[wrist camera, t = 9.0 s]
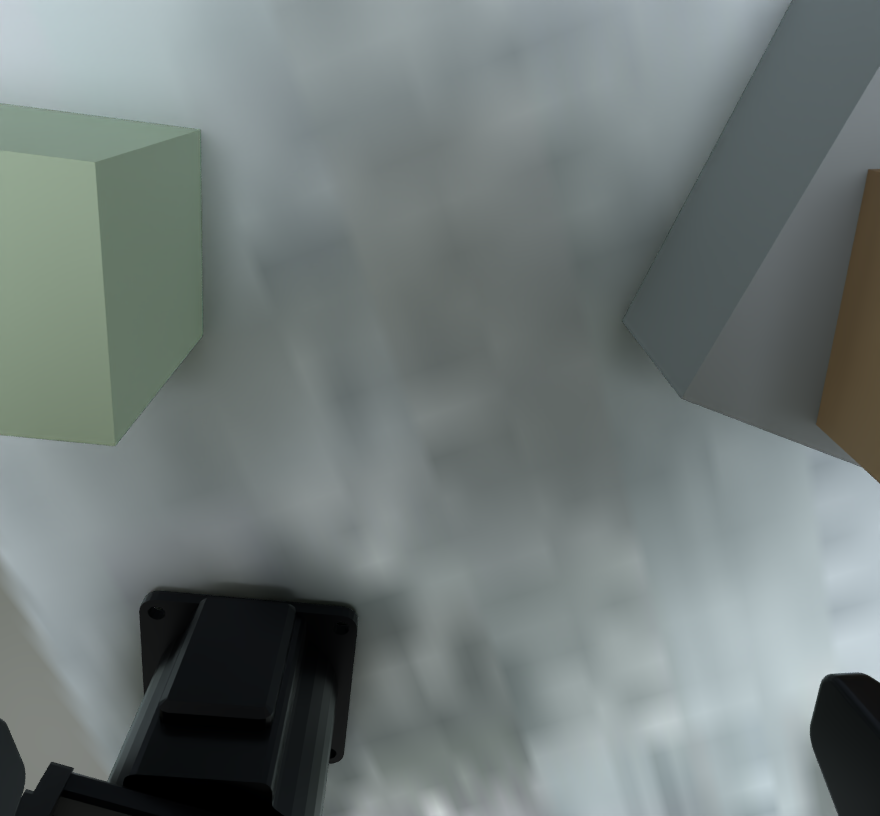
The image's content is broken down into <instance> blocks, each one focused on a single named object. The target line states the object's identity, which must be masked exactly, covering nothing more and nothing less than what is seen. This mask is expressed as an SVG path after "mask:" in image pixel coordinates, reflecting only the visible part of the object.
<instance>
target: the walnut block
mask: <svg viewBox="0 0 880 816" xmlns="http://www.w3.org/2000/svg"><path fill="white" fill-rule="evenodd" d="M816 425H817V426H818V427H819V428H820V429H821V430H822V431H823V432H825V433H826V434H827V435H828V436H829V437H830V438H831V439H832V440H833V441H834V442H835V443H836V444H838V445H839V446H840V447H841V448H842V449H843V450H844V451H845V452H846V453H847V454H848V455H849V456H851V457H852V458H853V459H854V460H855V461H856V462H857V463H858V464H859V465H860V466H861V467H863V468H864V469H865V470H866V471H867V472H868V473H869V474H870V475H871V476H872V477H873V478H874V479H876V480H877V481H878V482H879V483H880V169H868V174H867V179H866V183H865V188H864V193H863V198H862V203H861V208H860V213H859V218H858V222H857V227H856V232H855V237H854V242H853V247H852V252H851V257H850V262H849V266H848V271H847V276H846V281H845V286H844V291H843V296H842V301H841V305H840V310H839V315H838V320H837V325H836V330H835V335H834V340H833V344H832V349H831V354H830V359H829V364H828V369H827V374H826V379H825V384H824V388H823V393H822V398H821V403H820V408H819V413H818V418H817V423H816Z"/></svg>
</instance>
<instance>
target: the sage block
mask: <svg viewBox="0 0 880 816" xmlns="http://www.w3.org/2000/svg"><path fill="white" fill-rule="evenodd" d="M202 336H203V294H202V211H201V130H199V129H192V128H184V127H177V126H169V125H161V124H154V123H146V122H139V121H131V120H123V119H116V118H108V117H101V116H93V115H85V114H78V113H70V112H63V111H55V110H47V109H40V108H32V107H24V106H17V105H9V104H2V103H0V435H5V436H16V437H26V438H36V439H46V440H57V441H67V442H77V443H87V444H97V445H108V446H116V445H117V443H118V442H119V441H120V440H121V438H122V437H123V436H124V435H125V433H126V432H127V431H128V429H129V428H130V427H131V426H132V424H133V423H134V422H135V421H136V419H137V418H138V417H139V416H140V414H141V413H142V412H143V411H144V409H145V408H146V407H147V406H148V404H149V403H150V402H151V400H152V399H153V398H154V397H155V395H156V394H157V393H158V392H159V390H160V389H161V388H162V387H163V385H164V384H165V383H166V382H167V380H168V379H169V378H170V377H171V375H172V374H173V373H174V371H175V370H176V369H177V368H178V366H179V365H180V364H181V363H182V361H183V360H184V359H185V358H186V356H187V355H188V354H189V353H190V351H191V350H192V349H193V348H194V346H195V345H196V344H197V342H198V341H199V340H200V339H201V337H202Z"/></svg>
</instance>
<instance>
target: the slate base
mask: <svg viewBox="0 0 880 816" xmlns="http://www.w3.org/2000/svg"><path fill="white" fill-rule="evenodd" d="M868 169H880V0H792V2H791V4H790V6H789V7H788V9H787V11H786V13H785V15H784V17H783V19H782V21H781V22H780V24H779V26H778V28H777V30H776V32H775V34H774V36H773V38H772V39H771V41H770V43H769V45H768V47H767V49H766V51H765V53H764V55H763V56H762V58H761V60H760V62H759V64H758V66H757V68H756V70H755V71H754V73H753V75H752V77H751V79H750V81H749V83H748V85H747V87H746V88H745V90H744V92H743V94H742V96H741V98H740V100H739V102H738V103H737V105H736V107H735V109H734V111H733V113H732V115H731V117H730V119H729V120H728V122H727V124H726V126H725V128H724V130H723V132H722V134H721V135H720V137H719V139H718V141H717V143H716V145H715V147H714V149H713V151H712V152H711V154H710V156H709V158H708V160H707V162H706V164H705V166H704V167H703V169H702V171H701V173H700V175H699V177H698V179H697V181H696V183H695V184H694V186H693V188H692V190H691V192H690V194H689V196H688V198H687V200H686V201H685V203H684V205H683V207H682V209H681V211H680V213H679V215H678V216H677V218H676V220H675V222H674V224H673V226H672V228H671V230H670V232H669V233H668V235H667V237H666V239H665V241H664V243H663V245H662V247H661V248H660V250H659V252H658V254H657V256H656V258H655V260H654V262H653V264H652V265H651V267H650V269H649V271H648V273H647V275H646V277H645V279H644V280H643V282H642V284H641V286H640V288H639V290H638V292H637V294H636V296H635V297H634V299H633V301H632V303H631V305H630V307H629V309H628V311H627V313H626V314H625V316H624V318H623V320H622V322H623V323H624V325H625V326H626V327H627V328H628V330H629V331H630V332H631V334H632V335H633V336H634V338H635V339H636V340H637V341H638V343H639V344H640V345H641V347H642V348H643V349H644V351H645V352H646V353H647V355H648V356H649V357H650V358H651V360H652V361H653V362H654V364H655V365H656V366H657V368H658V369H659V370H660V371H661V373H662V374H663V375H664V377H665V378H666V379H667V381H668V382H669V383H670V384H671V386H672V387H673V388H674V390H675V391H676V392H677V394H678V395H679V396H680V398H681V399H684V400H686V401H689V402H692V403H694V404H697V405H700V406H702V407H705V408H707V409H710V410H713V411H715V412H718V413H721V414H723V415H726V416H728V417H731V418H734V419H736V420H739V421H742V422H744V423H747V424H750V425H752V426H755V427H757V428H760V429H763V430H765V431H768V432H771V433H773V434H776V435H778V436H781V437H784V438H786V439H789V440H792V441H794V442H797V443H800V444H802V445H805V446H807V447H810V448H813V449H815V450H818V451H821V452H823V453H826V454H829V455H831V456H834V457H836V458H839V459H842V460H844V461H847V462H850V463H852V464H855V465H857V466H860V465H859V464H858V463H857V462H856V461H855V460H854V459H853V458H852V457H851V456H849V455H848V454H847V453H846V452H845V451H844V450H843V449H842V448H841V447H840V446H839V445H838V444H836V443H835V442H834V441H833V440H832V439H831V438H830V437H829V436H828V435H827V434H826V433H825V432H823V431H822V430H821V429H820V428H819V427H818V426H817V425H816V423H817V418H818V413H819V408H820V403H821V398H822V393H823V388H824V384H825V379H826V374H827V369H828V364H829V359H830V354H831V349H832V344H833V340H834V335H835V330H836V325H837V320H838V315H839V310H840V305H841V301H842V296H843V291H844V286H845V281H846V276H847V271H848V266H849V262H850V257H851V252H852V247H853V242H854V237H855V232H856V227H857V222H858V218H859V213H860V208H861V203H862V198H863V193H864V188H865V183H866V179H867V174H868ZM860 467H861V466H860Z"/></svg>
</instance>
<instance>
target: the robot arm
mask: <svg viewBox="0 0 880 816" xmlns="http://www.w3.org/2000/svg"><path fill="white" fill-rule="evenodd" d="M154 606H157V607H161V608H162V609H163V610H162V611H161V610H157V609H156V608H154ZM139 614H140V631H141V649H142V666H143V683H144V698H143V700H142V702H141V705H140V707H139V709H138V712H137V714H136V716H135V719H134V721H133V723H132V725H131V728H130V730H129V732H128V735H127V737H126V739H125V742H124V744H123V746H122V749H121V751H120V753H119V755H118V758H117V760H116V762H115V765H114V767H113V769H112V772H111V774H110V776H109V778H108V781H107V782H106V781H102V780H99V779H95V778H91V777H88V776H84V775H81V774H77V773H74V772H73V769H74V768H72V767H68V766H65V765H61V764H58V763H54V762H51V763H50V765H49V766H48V768H47V770H46V772H45V773H44V775H43V777H42V778H41V780H40V782H39V784H38V785H37V787H36V789H35V790H34V791H31V790H27V789H26V791H25V792H24V794H23V796H22V793H23V789H24V785H25V768H24V764H23V762H22V759H21V757H20V754H19V752H18V750H17V748H16V745H15V743H14V740H13V738H12V735H11V733H10V731H9V728H8V726H7V724H6V723H5V722H4V721H3V720H2V719H0V816H322V811H323V804H324V796H325V788H326V780H327V773H328V765H329V764H331V763H336V762H339V761H340V760H341V759H342V758H343V755H344V748H345V738H346V729H347V720H348V711H349V701H350V692H351V683H352V674H353V664H354V655H355V646H356V637H357V627H358V616H357V614H356V613H355V612H354V611H353V610H351V609H350V608H347V607H341V606H329V605H318V604H306V603H294V602H283V601H271V600H259V599H248V598H236V597H224V596H213V595H201V594H189V593H178V592H166V591H154V592H151V593H149V594H148V595H147V596H146V597H145V599H144V601H143V603H142V605H141V606H140V611H139ZM337 622H344V623H346V624H347V625H343V626H341V625H337V624H336V623H337ZM810 738H811V743H812V747H813V750H814V753H815V756H816V758H817V761H818V764H819V766H820V769H821V772H822V774H823V777H824V779H825V782H826V785H827V787H828V790H829V793H830V795H831V798H832V800H833V803H834V806H835V808H836V811H837V813H838V816H880V683H879V682H878V681H876V680H875V679H874V678H872V677H870V676H868V675H866V674H863V673H839V674H829V675H826V676H825V677H824V678H823V679H822V681H821V684H820V688H819V692H818V696H817V700H816V704H815V708H814V712H813V716H812V720H811V724H810ZM21 796H22V797H21Z"/></svg>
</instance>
